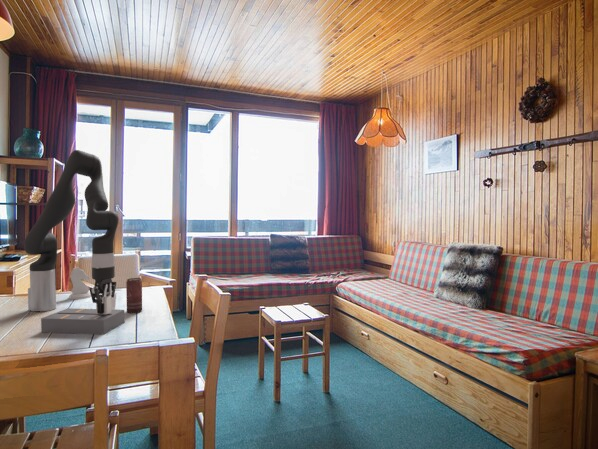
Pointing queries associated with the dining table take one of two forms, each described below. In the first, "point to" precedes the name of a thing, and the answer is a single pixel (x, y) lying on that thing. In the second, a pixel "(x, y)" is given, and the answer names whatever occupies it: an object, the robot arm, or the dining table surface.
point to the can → (134, 295)
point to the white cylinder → (113, 301)
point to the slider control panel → (82, 321)
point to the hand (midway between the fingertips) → (103, 311)
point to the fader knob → (106, 305)
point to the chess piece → (79, 284)
